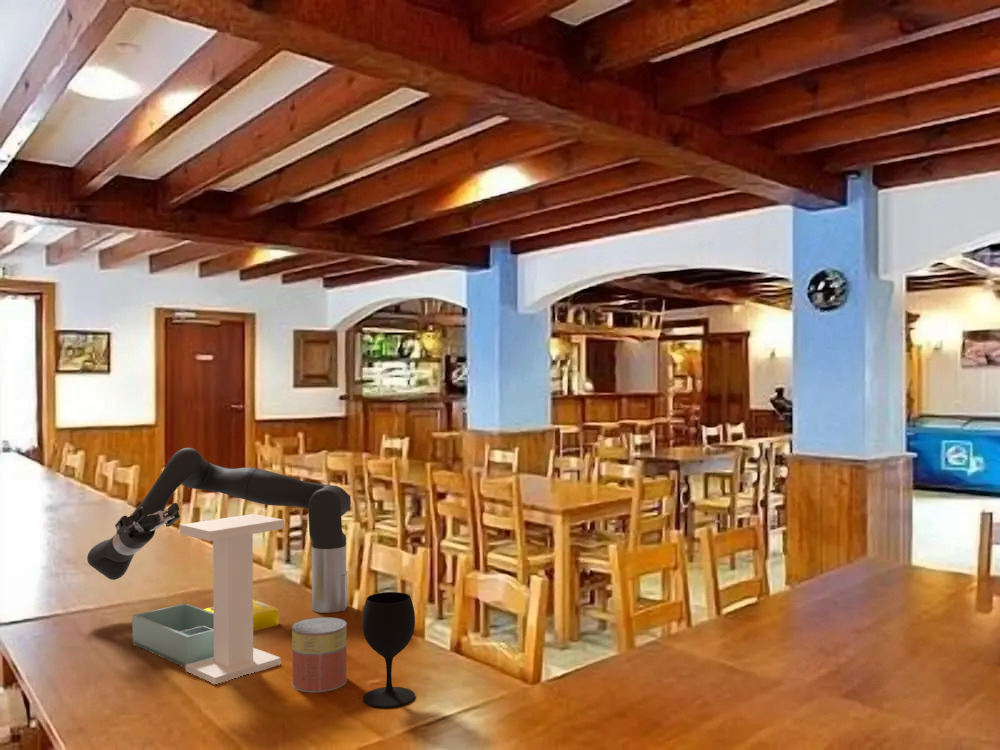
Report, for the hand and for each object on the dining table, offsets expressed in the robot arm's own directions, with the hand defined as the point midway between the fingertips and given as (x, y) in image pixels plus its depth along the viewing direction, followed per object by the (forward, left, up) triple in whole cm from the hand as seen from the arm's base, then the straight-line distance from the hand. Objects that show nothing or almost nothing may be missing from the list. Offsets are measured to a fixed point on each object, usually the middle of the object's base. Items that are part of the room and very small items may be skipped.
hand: (160, 508), depth 206 cm
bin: (-9, +9, -32) cm, 34 cm away
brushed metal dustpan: (-8, +8, -31) cm, 33 cm away
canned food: (-43, +33, -32) cm, 63 cm away
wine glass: (-58, +43, -32) cm, 79 cm away
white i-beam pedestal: (-23, +23, -32) cm, 45 cm away
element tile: (-17, -10, -32) cm, 38 cm away
